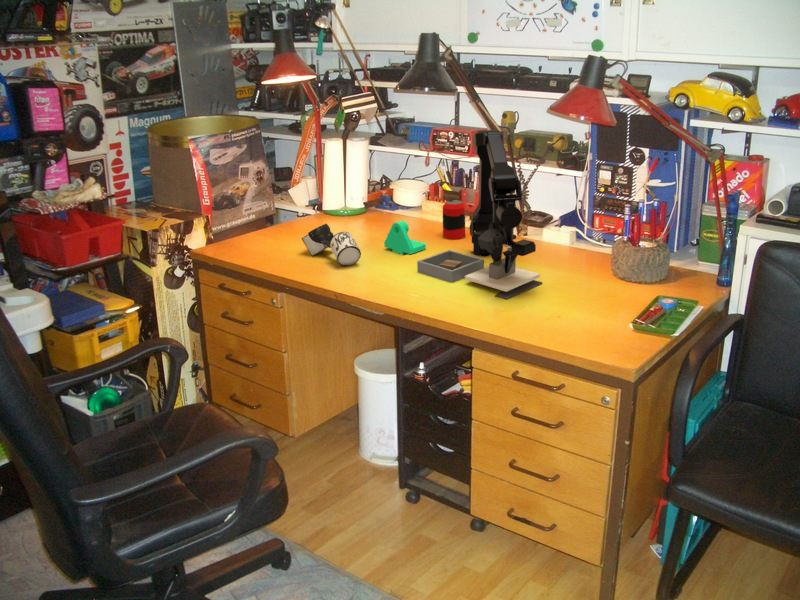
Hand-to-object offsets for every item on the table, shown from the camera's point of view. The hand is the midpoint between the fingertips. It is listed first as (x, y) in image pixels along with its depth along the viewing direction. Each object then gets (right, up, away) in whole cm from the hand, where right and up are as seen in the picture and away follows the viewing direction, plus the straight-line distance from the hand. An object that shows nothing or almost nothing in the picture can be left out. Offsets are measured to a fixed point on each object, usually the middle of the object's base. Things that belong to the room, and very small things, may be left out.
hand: (502, 271), depth 223 cm
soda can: (-10, +13, +46) cm, 50 cm away
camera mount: (-27, +8, +34) cm, 44 cm away
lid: (0, -2, +1) cm, 2 cm away
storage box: (-14, 0, +12) cm, 18 cm away
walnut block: (-14, +1, +12) cm, 18 cm away
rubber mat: (0, -4, +1) cm, 4 cm away
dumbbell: (-50, +5, +28) cm, 58 cm away
